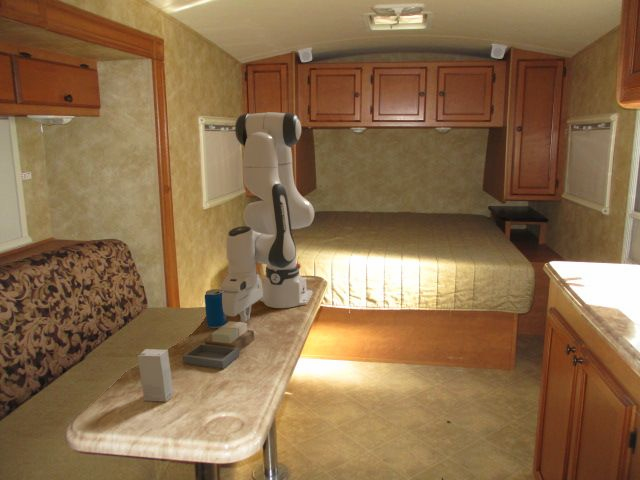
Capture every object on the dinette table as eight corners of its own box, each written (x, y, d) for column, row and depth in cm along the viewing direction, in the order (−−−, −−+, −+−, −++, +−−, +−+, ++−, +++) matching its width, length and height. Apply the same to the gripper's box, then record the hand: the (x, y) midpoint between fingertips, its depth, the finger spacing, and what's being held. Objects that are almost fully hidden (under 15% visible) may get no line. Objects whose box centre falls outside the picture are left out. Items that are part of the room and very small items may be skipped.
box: (200, 351, 155) (200, 343, 155) (239, 356, 151) (238, 348, 150) (183, 363, 147) (182, 355, 146) (223, 369, 142) (222, 361, 142)
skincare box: (174, 394, 130) (169, 348, 127) (165, 403, 125) (161, 356, 123) (151, 392, 131) (146, 347, 128) (142, 401, 127) (137, 355, 124)
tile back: (230, 328, 164) (229, 321, 163) (247, 330, 162) (246, 323, 161) (222, 334, 159) (221, 326, 159) (239, 336, 157) (238, 328, 157)
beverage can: (222, 329, 172) (219, 294, 169) (203, 328, 173) (200, 294, 170) (229, 322, 178) (226, 289, 175) (211, 321, 179) (208, 288, 177)
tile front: (221, 335, 159) (220, 327, 158) (238, 337, 157) (238, 329, 156) (212, 341, 154) (211, 333, 154) (230, 343, 152) (229, 335, 152)
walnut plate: (226, 336, 166) (225, 327, 165) (254, 339, 162) (253, 330, 162) (205, 351, 155) (204, 342, 154) (235, 355, 151) (234, 345, 151)
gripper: (249, 269, 175) (251, 308, 177) (217, 286, 156) (220, 330, 159) (266, 270, 173) (268, 310, 175) (235, 288, 154) (238, 332, 157)
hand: (245, 320), depth 167 cm, fingers closed
